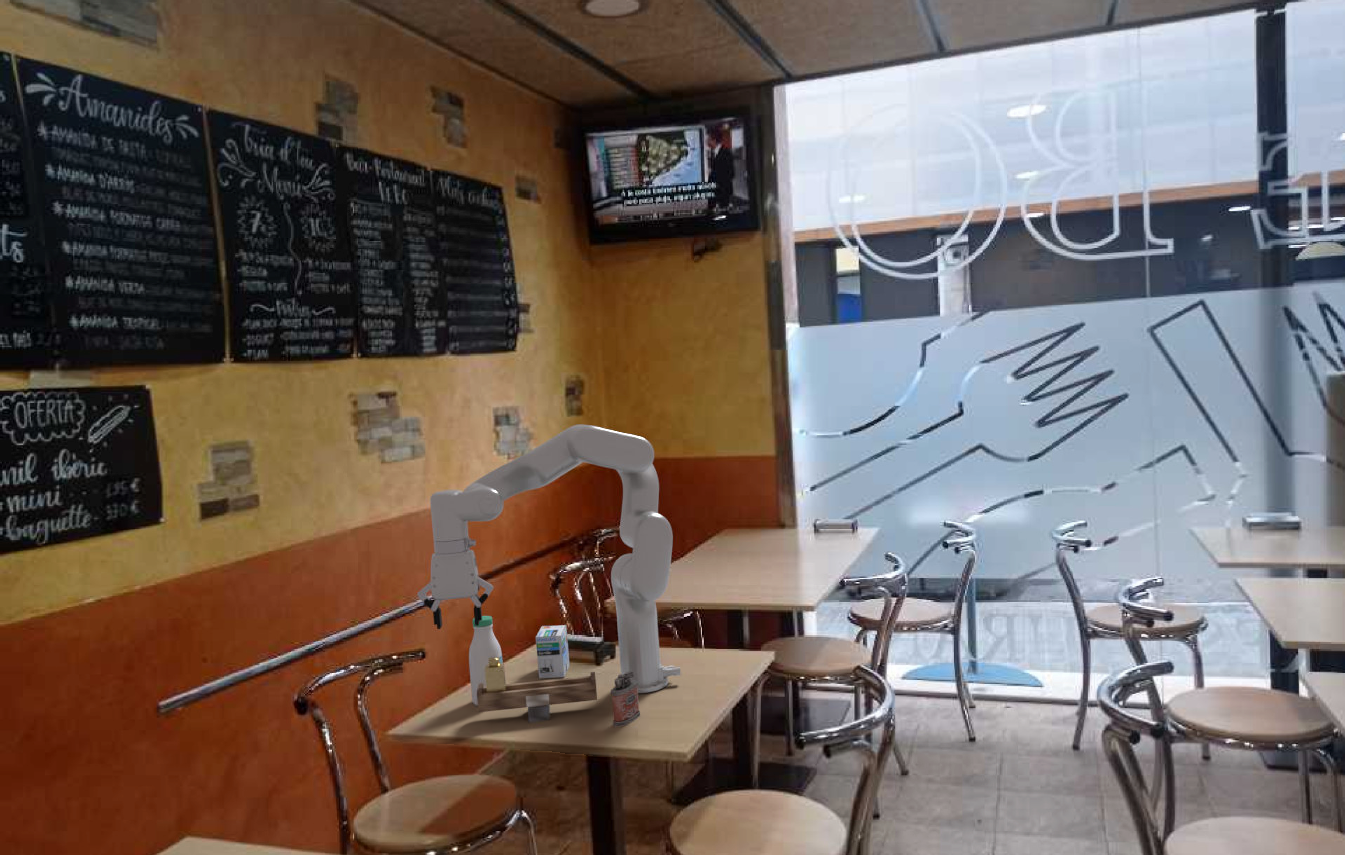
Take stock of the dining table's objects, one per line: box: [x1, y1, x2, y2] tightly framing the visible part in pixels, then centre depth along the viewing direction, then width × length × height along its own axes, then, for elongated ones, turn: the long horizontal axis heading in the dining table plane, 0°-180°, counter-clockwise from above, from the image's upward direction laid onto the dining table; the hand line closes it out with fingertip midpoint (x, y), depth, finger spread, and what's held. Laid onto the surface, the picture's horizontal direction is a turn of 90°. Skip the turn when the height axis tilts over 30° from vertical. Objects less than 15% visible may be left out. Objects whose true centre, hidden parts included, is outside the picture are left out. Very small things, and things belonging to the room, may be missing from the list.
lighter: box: [610, 671, 641, 727], centre depth 215 cm, size 8×3×10 cm, turn 148°
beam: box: [477, 671, 598, 723], centre depth 222 cm, size 26×8×8 cm, turn 96°
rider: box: [485, 657, 506, 693], centre depth 221 cm, size 4×3×8 cm
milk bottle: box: [468, 615, 504, 707], centre depth 234 cm, size 8×8×20 cm
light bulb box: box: [535, 624, 570, 679], centre depth 253 cm, size 11×7×11 cm, turn 179°
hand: (458, 625), depth 220 cm, fingers open, 7 cm apart
